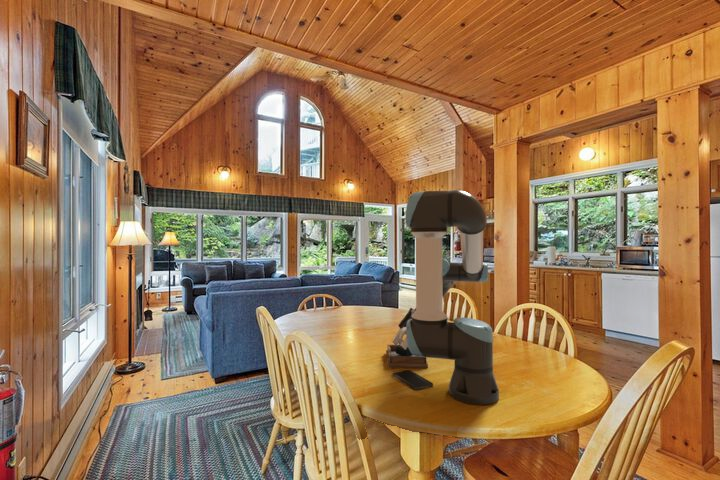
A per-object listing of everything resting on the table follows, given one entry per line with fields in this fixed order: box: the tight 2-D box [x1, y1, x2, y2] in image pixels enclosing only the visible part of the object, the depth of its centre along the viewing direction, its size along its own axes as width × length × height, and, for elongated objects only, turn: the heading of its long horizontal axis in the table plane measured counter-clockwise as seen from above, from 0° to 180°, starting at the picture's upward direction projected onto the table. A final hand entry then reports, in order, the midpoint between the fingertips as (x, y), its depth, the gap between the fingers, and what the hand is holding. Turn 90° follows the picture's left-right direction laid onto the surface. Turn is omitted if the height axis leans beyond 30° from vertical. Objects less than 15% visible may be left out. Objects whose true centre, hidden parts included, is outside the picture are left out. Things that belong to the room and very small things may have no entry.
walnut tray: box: [385, 344, 429, 369], centre depth 146 cm, size 17×15×4 cm
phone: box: [392, 369, 434, 391], centre depth 125 cm, size 8×1×15 cm
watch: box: [396, 327, 413, 356], centre depth 145 cm, size 6×8×11 cm
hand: (398, 345), depth 144 cm, fingers closed on watch, 5 cm apart
